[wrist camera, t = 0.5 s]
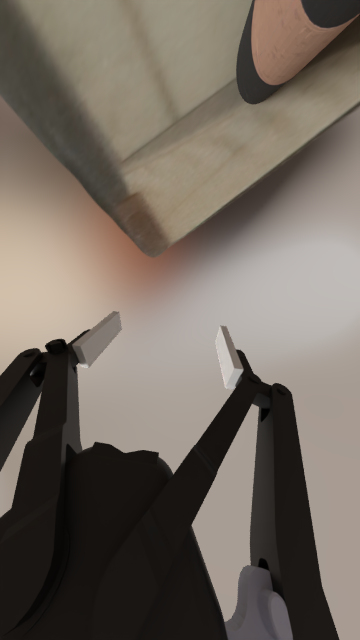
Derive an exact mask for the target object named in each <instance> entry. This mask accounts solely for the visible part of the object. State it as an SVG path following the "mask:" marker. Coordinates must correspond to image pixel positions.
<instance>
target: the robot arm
mask: <svg viewBox="0 0 360 640" xmlns="http://www.w3.org/2000/svg"><path fill="white" fill-rule="evenodd" d="M121 330H122V328H121V321H120V314H119V312H115V311H113V312H112V313H111V314H109V315H108V316H107V317H106V318H104V319H103V320H102V321H101V322H100V323H98V324H97V325H96V326H95V327H93V328H92V329H91V330H90V329H89V330H87V331H84V332H83V333H82V334H80V335H79V336H77V338H75V339H74V340H72V341H71V342H70V343H68V344H66V342H65V340H64V339H56V340H52V341H50V342H49V343H47V344H46V345H45V347H46V349H47V351H48V352H41V351H40V350H39V349H37V348H33V349H28V350H26V351H24V352H22V353H20V354H19V355H18V356H17V357H16V358H15V359H14V361H13V362H12V363H11V364H10V365H9V366H8V367H7V369H6V370H5V371H4V372H3V373H2V374H1V375H0V471H1V469H2V467H3V465H4V463H5V461H6V459H7V457H8V456H9V454H10V452H11V450H12V448H13V446H14V444H15V441H16V440H17V438H18V436H19V434H20V432H21V430H22V428H23V426H24V425H25V423H26V421H27V419H28V417H29V415H30V413H31V411H32V409H33V407H34V405H35V403H36V401H37V399H38V397H39V395H40V393H41V392H42V393H41V399H40V404H39V410H38V414H37V420H36V425H35V430H34V436H33V439H32V440H31V441H29V442H28V443H27V444H26V446H25V449H24V453H23V458H22V462H21V467H20V472H19V476H18V481H17V486H16V490H15V495H14V499H13V504H12V508H11V509H10V510H9V511H8V512H6V513H5V514H4V515H3V516H2V517H1V518H0V640H339V637H338V634H337V631H336V628H335V625H334V622H333V619H332V616H331V613H330V609H329V606H328V603H327V600H326V597H325V595H324V591H323V588H322V583H321V578H320V571H319V564H318V558H317V551H316V545H315V539H314V532H313V526H312V519H311V513H310V507H309V500H308V494H307V488H306V481H305V475H304V468H303V462H302V456H301V449H300V443H299V436H298V430H297V424H296V417H295V411H294V405H293V399H292V394H291V392H290V391H289V390H288V389H287V388H286V387H285V386H283V385H281V384H279V383H275V384H273V385H272V386H271V385H268V384H266V383H263V382H262V381H261V379H260V378H259V377H258V376H257V375H255V374H254V373H253V371H252V369H251V367H250V365H249V363H248V361H247V359H246V356H245V354H244V353H243V352H242V351H241V350H236V349H235V347H234V344H233V342H232V339H231V337H230V334H229V332H228V329H227V327H226V326H220V328H219V332H218V335H217V338H216V342H215V344H216V348H217V353H218V358H219V362H220V366H221V371H222V376H223V381H224V385H225V388H227V389H234V387H235V386H236V388H235V390H234V391H233V393H232V394H231V395H230V397H229V398H228V400H227V401H226V402H225V404H224V405H223V407H222V408H221V410H220V411H219V413H218V414H217V415H216V417H215V418H214V420H213V421H212V422H211V424H210V425H209V427H208V428H207V430H206V431H205V432H204V434H203V435H202V437H201V438H200V440H199V441H198V442H197V444H196V445H194V447H193V448H192V449H191V451H190V452H189V453H188V455H187V456H186V458H185V459H184V460H183V462H182V463H181V465H180V466H179V468H178V469H177V470H176V472H175V473H174V475H173V473H172V471H171V469H170V467H169V466H168V465H167V464H166V462H165V461H163V460H162V459H161V458H159V457H158V456H159V453H158V452H152V451H146V450H140V451H135V452H129V453H123V452H121V451H120V450H118V449H117V448H115V447H114V446H112V445H110V444H105V443H99V442H95V443H94V445H93V447H90V448H87V449H85V450H83V451H82V446H81V442H80V427H79V402H78V379H77V367H76V365H77V364H78V363H80V366H81V367H87V368H89V367H90V366H91V365H92V363H93V362H94V361H95V360H96V359H97V358H98V356H99V355H100V354H101V353H102V352H103V351H104V349H105V348H106V347H107V346H108V345H109V344H110V343H111V341H112V340H113V339H114V338H115V337H116V336H117V335H118V333H119V332H120V331H121ZM251 404H254V405H256V406H258V407H259V416H258V431H257V443H256V457H255V471H254V484H253V498H252V512H251V526H250V557H251V566H249V565H247V566H245V567H244V568H243V569H242V571H241V573H240V577H239V582H238V600H237V601H238V602H237V606H236V610H235V613H234V614H233V616H232V618H231V619H230V620H228V621H227V622H224V619H223V615H222V612H221V608H220V605H219V602H218V599H217V597H216V594H215V591H214V588H213V585H212V582H211V579H210V577H209V574H208V571H207V568H206V565H205V563H204V559H203V557H202V554H201V551H200V548H199V546H198V542H197V540H196V537H195V534H194V531H193V529H192V526H191V525H192V523H193V521H194V519H195V517H196V515H197V513H198V511H199V509H200V507H201V505H202V503H203V501H204V499H205V497H206V495H207V493H208V491H209V489H210V487H211V485H212V483H213V481H214V479H215V477H216V475H217V471H218V469H219V467H220V465H221V463H222V461H223V459H224V457H225V455H226V453H227V451H228V449H229V447H230V445H231V443H232V442H233V439H234V438H235V436H236V434H237V432H238V430H239V428H240V426H241V424H242V422H243V420H244V418H245V416H246V414H247V412H248V410H249V408H250V406H251Z"/></svg>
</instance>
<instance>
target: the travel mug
mask: <svg viewBox="0 0 360 640" xmlns="http://www.w3.org/2000/svg"><path fill="white" fill-rule="evenodd" d="M358 15H360V0H253V1H252V4H251V7H250V11H249V14H248V17H247V20H246V24H245V27H244V30H243V34H242V37H241V41H240V45H239V51H238V57H237V68H236V74H237V84H238V89H239V92H240V94H241V96H242V98H243V99H244V100H245V101H246V102H247V103H249V104H257V103H260V102H262V101H264V100H265V99H266V98H268V97H269V96H270V95H272V94H273V93H274V92H275V91H277V90H278V89H279V88H280V87H281V86H283V85H284V84H285V83H286V82H288V81H289V80H290V79H291V78H293V77H294V76H295V75H296V74H297V73H298V72H299V71H300V70H301V69H302V68H304V67H305V66H306V65H307V64H308V63H309V62H310V61H311V60H312V59H313V58H314V57H315V56H316V55H317V54H318V53H319V52H320V51H322V50H323V49H324V48H325V47H326V46H327V45H328V44H329V43H330V42H331V41H332V40H333V39H334V38H335V37H336V36H337V35H338V34H339V33H341V32H342V31H343V30H344V29H345V28H346V27H347V26H348V25H349V24H350V23H351V22H352V21H353V20H354V19H355V18H356V17H357V16H358Z"/></svg>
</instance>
